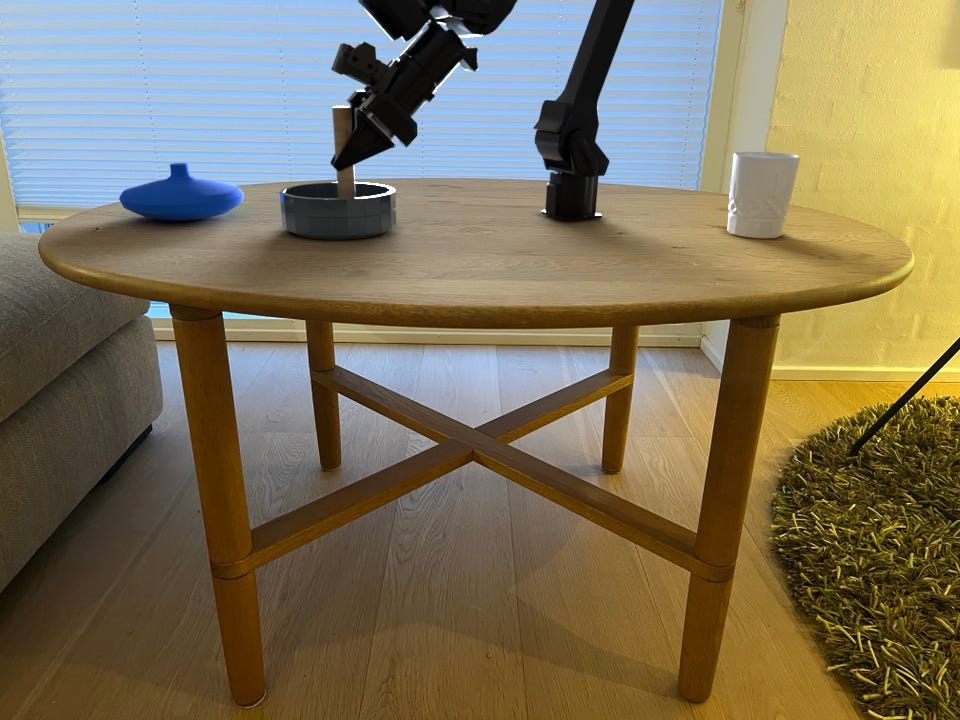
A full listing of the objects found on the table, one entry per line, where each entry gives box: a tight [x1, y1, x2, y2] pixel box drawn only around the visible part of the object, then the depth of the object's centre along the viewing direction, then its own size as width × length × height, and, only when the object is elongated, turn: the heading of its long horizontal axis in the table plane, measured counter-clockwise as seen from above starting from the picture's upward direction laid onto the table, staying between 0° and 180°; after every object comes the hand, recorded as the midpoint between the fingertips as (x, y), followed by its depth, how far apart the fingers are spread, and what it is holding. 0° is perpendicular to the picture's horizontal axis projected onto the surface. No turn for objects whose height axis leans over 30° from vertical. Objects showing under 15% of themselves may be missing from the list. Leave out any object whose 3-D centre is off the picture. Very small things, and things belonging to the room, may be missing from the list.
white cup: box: [726, 151, 801, 240], centre depth 90 cm, size 8×8×10 cm
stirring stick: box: [331, 105, 356, 199], centre depth 86 cm, size 5×5×14 cm
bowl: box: [279, 181, 397, 241], centre depth 89 cm, size 14×14×5 cm
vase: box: [118, 162, 245, 222], centre depth 94 cm, size 16×16×7 cm
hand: (334, 167), depth 86 cm, fingers closed on stirring stick, 2 cm apart
